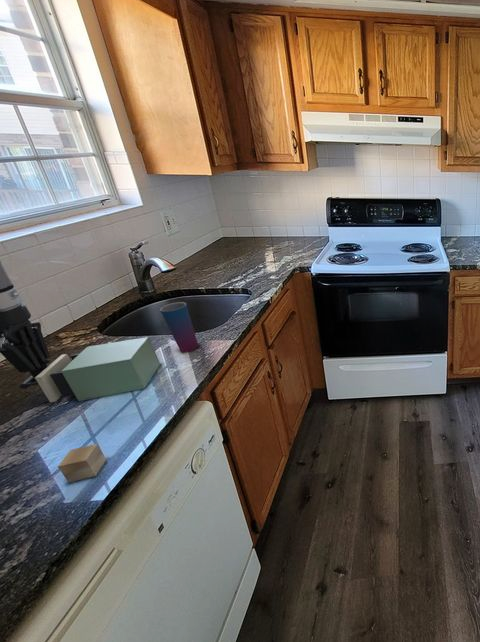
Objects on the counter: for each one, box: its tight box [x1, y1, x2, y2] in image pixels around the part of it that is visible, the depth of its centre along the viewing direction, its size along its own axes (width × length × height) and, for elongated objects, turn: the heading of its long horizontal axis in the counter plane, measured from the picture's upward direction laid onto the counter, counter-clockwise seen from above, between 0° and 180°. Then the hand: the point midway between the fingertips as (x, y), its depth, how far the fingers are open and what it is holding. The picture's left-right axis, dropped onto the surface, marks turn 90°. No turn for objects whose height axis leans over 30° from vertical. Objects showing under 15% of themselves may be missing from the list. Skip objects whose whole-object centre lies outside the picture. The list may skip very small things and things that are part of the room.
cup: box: [159, 301, 199, 353], centre depth 116 cm, size 7×7×15 cm
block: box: [57, 443, 107, 483], centre depth 74 cm, size 4×4×4 cm
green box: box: [61, 336, 161, 402], centre depth 101 cm, size 15×13×10 cm
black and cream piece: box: [19, 353, 80, 403], centre depth 98 cm, size 19×11×8 cm, turn 109°
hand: (49, 387), depth 97 cm, fingers closed
